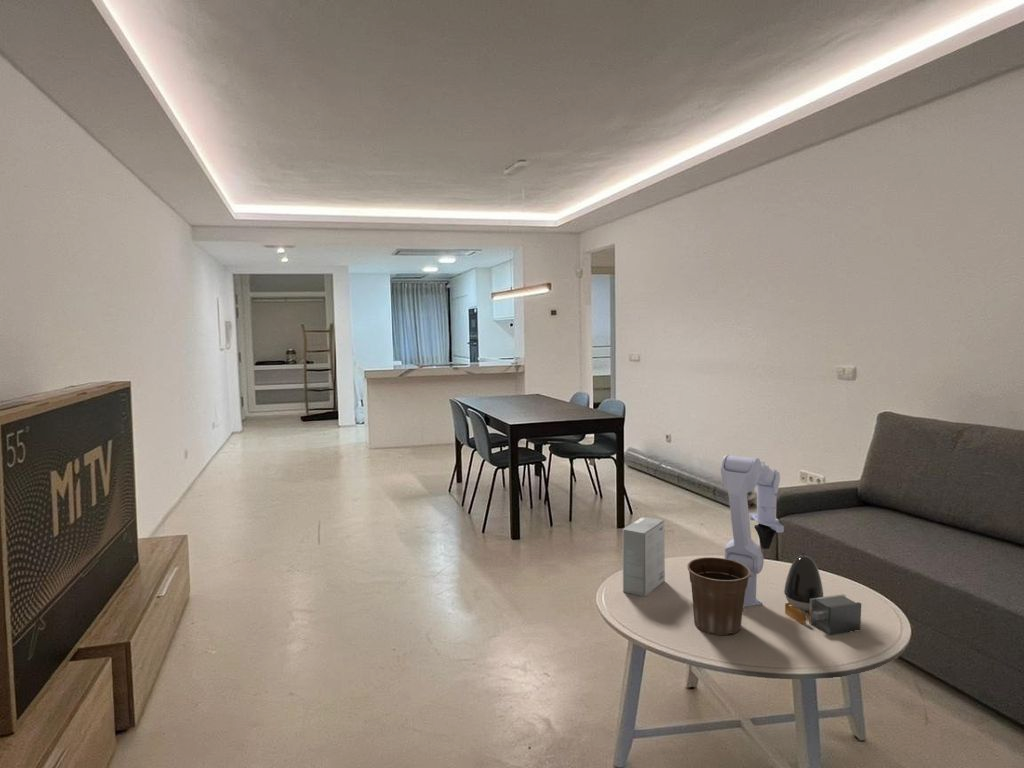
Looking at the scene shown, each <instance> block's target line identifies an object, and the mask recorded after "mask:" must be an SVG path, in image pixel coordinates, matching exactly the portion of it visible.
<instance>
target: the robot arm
mask: <svg viewBox="0 0 1024 768" xmlns="http://www.w3.org/2000/svg"><path fill="white" fill-rule="evenodd" d="M720 476H721V482H722V486H723V487H724V488H725V489H726V490H727V493H728V501H729V512H730V519H731V520H730V521H731V527H732V529H731V530H732V537H733V539H731V540H729V541H728V542H727V543H726V545H725V547H724V558H723V559H729V560H733V561H736V562H739V563H741V564H743V565H745V566H746V567H748V568H749V569H750V572H751V573H750V576H749V577H748V584H747V588H746V589H745V597H744V604H743V608H745V607H752V606H758V605H759V606H760V605H763V604H764V603H763V601H761V600H759V599H758V598H757V579H758V578H757V577H758V576H757V575H758V574H760V573H761V572H762V571H763V567H764V561H765V560H764V554H763V552H762V549H764V550H769V549H770V548H771V545H772V543H773V539H774V537H775V535H776V534H777V533H779V534H780V533H784V531H785V530H784V529H785V526H784V525H782V524H781V523H780V522H779V521H780V520H779V518H777V499H778V498H777V495H778V493H779V486H780V480H781V475H780V472H779V471H778V470H776V469H772V468H770V466H769V465H767V464H766V463H765V462H764V461H761V460H760V458H759V457H747V456H739V455H738V456H737V455H730V454H726V455H724V456H723V457H722V461H721V464H720ZM756 487H757V490H756ZM755 490H756V491H757V493H756V494H757V495H756V513H755V512H754V513H753V512H752V513H749V504H748V503H749V501H748V493H751V492H753V491H755ZM750 521H754V522H756V523H757V524H755V525H754V529H755V530H756V532H757V535H758V538H759V539H758V540H759V543H760V545H759V544H758V543H756V542H755V541H754V540H753V539H752V533H751V532H752V531H751V524H750Z"/></svg>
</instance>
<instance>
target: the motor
mask: <svg viewBox="0 0 1024 768" xmlns="http://www.w3.org/2000/svg"><path fill="white" fill-rule="evenodd" d="M784 609H785V610H784V614H785V615H786V616H788V617H789V618H790V619H793V620H794V621H796V622H797V623H799V624H800V625H807V624H806V623H807V613H806V611H801V610H800V609H798V608H797V607H795V606H793V605H792V604H790V603H788V602H785V606H784ZM808 613H809V614H808V625H812V626H813V625H815V626H816V627H817V628H819V629H821V630H822V631H824V632H825V633H826V634H828V635H830V636H833V635H838V634H839V635H840V634H845V632H846V633H851V632H850V631H853V632H856V631H855V630H860V631H861V624H862V623H861V622H862V621H861V620H862V603H861V602H859V601H858V602H856V601H853V600H852V599H850V598H848V597H847V595H846V594H844V593H842V594H835V595H827V596H823V597H819V598H811V599H810V606H809V611H808Z"/></svg>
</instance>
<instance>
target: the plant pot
mask: <svg viewBox="0 0 1024 768" xmlns="http://www.w3.org/2000/svg"><path fill="white" fill-rule="evenodd" d="M686 566H687V570H688V572H689V573H688V575H689V581H690V585H691V595H692V596H691V597H692V609H693V621H694V622H693V623H694V625H695V626H697V628H699V629H700V631H702V632H705V633H708V634H710V635H717V636H727V635H729V634H731V635H735V634H738V633H739V632H740V631H741V628H742V620H743V619H742V618H743V613H744V612H743V611H744V607H743V604H744V597H745V589H746V588H747V584H748V577H749V576H750V573H751V572H750V569H749V568H748V567H746V566H745V565H743V564H741V563H739V562H736V561H733V560H729V559H724V558H721V557H713V556H711V557H699V558H695V559H692V560H690V561H689V562H688V563H687V565H686Z"/></svg>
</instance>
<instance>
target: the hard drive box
mask: <svg viewBox="0 0 1024 768" xmlns="http://www.w3.org/2000/svg"><path fill="white" fill-rule="evenodd" d="M665 556H666V555H665V520H664V519H659V518H654V517H649V516H648V517H647V516H642V517H640V518H639V519H638V518H637V520H636V521H634V522H632V523H631V524H629V525H628V526H625V528H623V529H622V592H624V593H627V594H631V595H635V596H640V597H644V598H645V597H646V596H647V595H649V594H650V593H651V592H652V591H653V590H655V589H656V588H657V587H658V586H660V585H661V584H662V583H663V582H665V580H666V579H665V578H666V577H665V576H666V571H665V570H666V569H665V568H666V567H665V566H666V565H665V563H666V562H665V559H666V558H665Z"/></svg>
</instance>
